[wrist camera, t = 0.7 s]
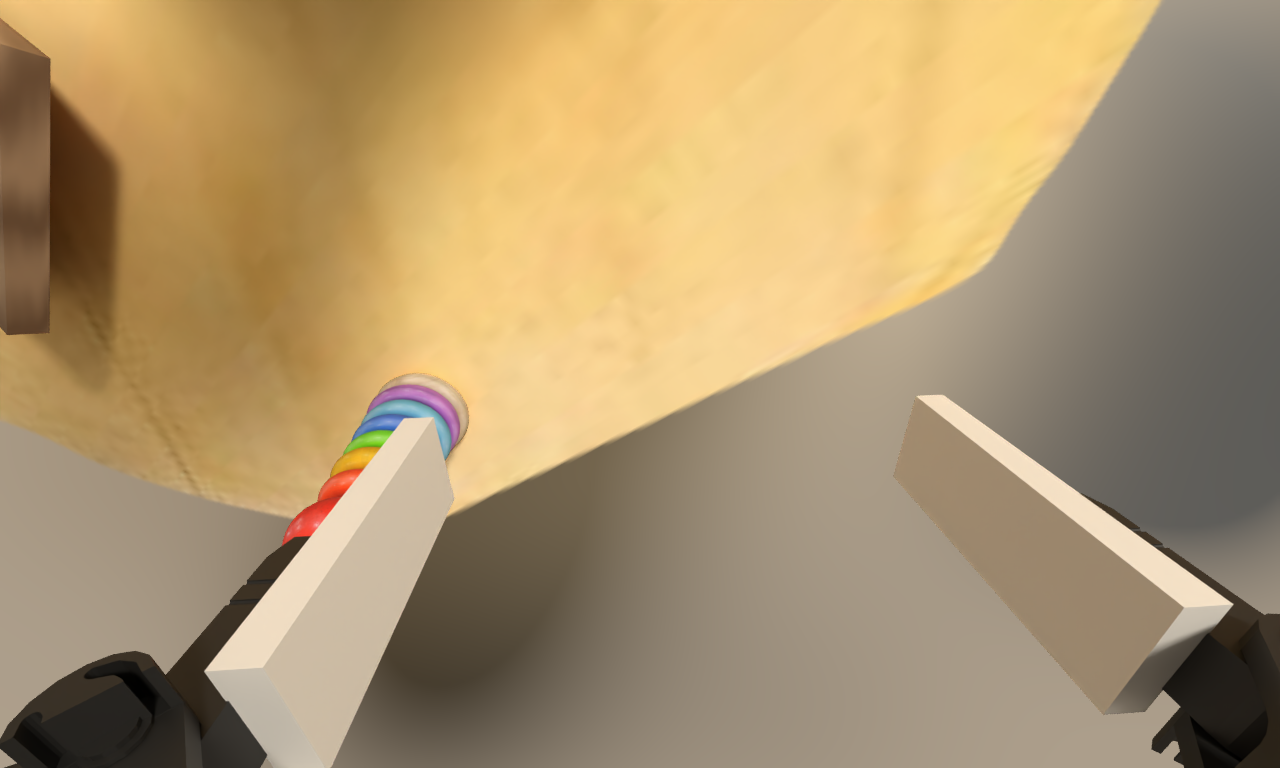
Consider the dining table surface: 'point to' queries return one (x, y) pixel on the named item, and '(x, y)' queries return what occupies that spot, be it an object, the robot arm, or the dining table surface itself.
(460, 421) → the stacking toy
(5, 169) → the plank
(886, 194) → the dining table surface
